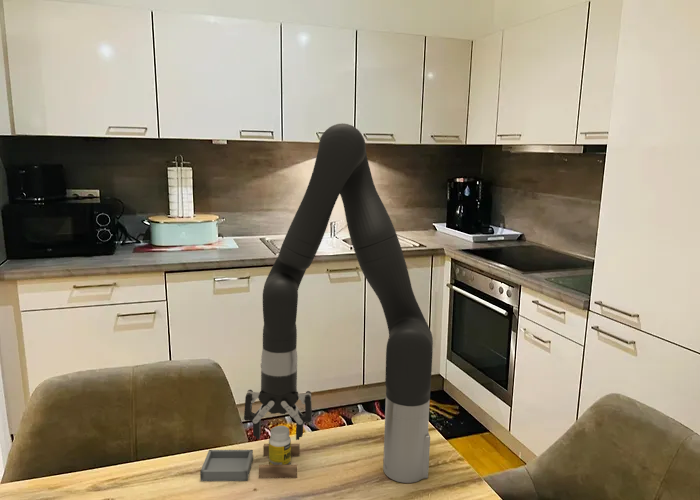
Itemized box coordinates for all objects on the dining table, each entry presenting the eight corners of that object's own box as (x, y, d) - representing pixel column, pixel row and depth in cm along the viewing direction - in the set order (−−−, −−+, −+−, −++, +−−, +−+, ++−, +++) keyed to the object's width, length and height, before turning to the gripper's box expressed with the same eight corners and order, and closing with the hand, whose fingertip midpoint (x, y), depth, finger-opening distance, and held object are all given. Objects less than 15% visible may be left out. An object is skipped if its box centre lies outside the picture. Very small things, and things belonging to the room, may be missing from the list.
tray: (253, 458, 116) (252, 449, 116) (247, 481, 108) (247, 471, 108) (209, 458, 116) (209, 449, 115) (200, 481, 108) (200, 471, 107)
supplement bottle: (286, 473, 111) (286, 437, 109) (265, 470, 112) (265, 434, 110) (293, 460, 116) (293, 425, 114) (273, 458, 116) (273, 423, 115)
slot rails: (299, 453, 118) (299, 443, 118) (297, 478, 109) (297, 467, 109) (264, 453, 118) (263, 443, 117) (258, 478, 109) (258, 467, 109)
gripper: (313, 361, 114) (311, 429, 117) (248, 359, 113) (247, 427, 116) (312, 375, 106) (310, 448, 109) (242, 373, 106) (241, 446, 109)
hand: (277, 437), depth 113 cm, fingers open, 8 cm apart
